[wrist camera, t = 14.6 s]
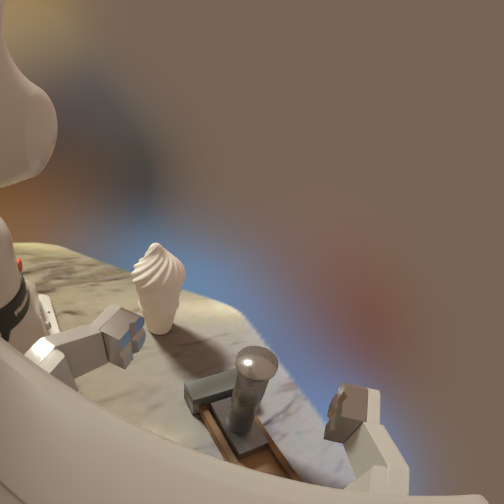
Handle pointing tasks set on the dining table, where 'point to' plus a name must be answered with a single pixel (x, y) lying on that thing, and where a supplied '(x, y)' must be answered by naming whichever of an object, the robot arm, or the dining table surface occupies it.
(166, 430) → the dining table surface
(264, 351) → the carriage
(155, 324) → the soft serve ice cream cone
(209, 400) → the rail
